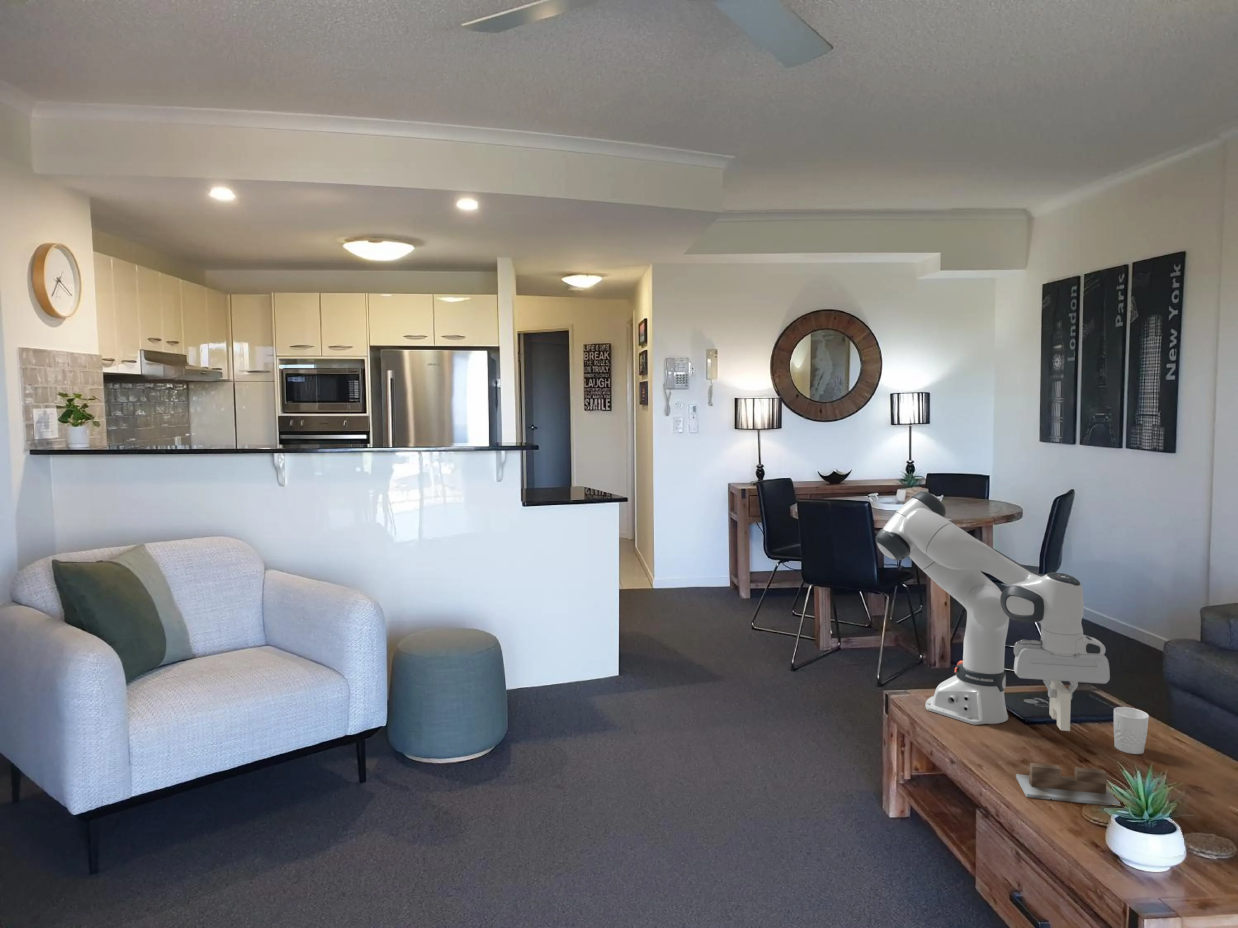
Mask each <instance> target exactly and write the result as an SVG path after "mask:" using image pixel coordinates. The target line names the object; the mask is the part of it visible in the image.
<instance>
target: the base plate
mask: <svg viewBox="0 0 1238 928" xmlns="http://www.w3.org/2000/svg"><path fill="white" fill-rule="evenodd" d="M1073 775H1074V776H1068V775H1062V768H1061V767H1060V765H1056V764H1048V763H1047V764H1046V763H1036V762H1030V763H1029V774H1018V773H1016V774H1015V778H1016V781H1017V782H1018V784H1019V785H1020V788H1021V790H1022V791H1023V794H1024V795H1025V797H1026V798H1030V799H1031V798H1032V799H1040V800H1041V799H1042V800H1050V799H1052V801H1061V802H1069V801H1070V803H1080V804H1089V805H1090V804H1091V805H1098V804H1099V806H1100V805H1101V806H1107V805H1112V804H1116V805H1119V804H1120V802H1121V801H1120V800H1119V801H1120V802H1119V801H1118V800H1117V799H1116V798H1115V797H1114V796H1113V794H1111V792H1110V791H1109V790H1108V789H1107V787H1106V784H1107V777H1108V773H1107V772H1106V771H1105V770H1104V769H1099V768H1090V767H1089V768H1088V767H1079V766H1074V774H1073Z"/></svg>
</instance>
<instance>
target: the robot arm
mask: <svg viewBox="0 0 1238 928" xmlns="http://www.w3.org/2000/svg"><path fill="white" fill-rule="evenodd" d="M945 516H946V506H945V505H944V504H943V502H942V500H941V499H940V498H938V497H937V496H936V495H935V494H932V493H930V492H928V491H923V490H921V491H919V492H917V493H915V494H914V495H912V496H911V497H910V499H909V500H908V501H906V502H905V503H904V504H903V505H902V506H900V507H899V508H898V509H897V510H896V511H895V512H894V514H893V515H892V516H891V517H890V519H889V520H888V521H887V522H886V524H885V525H884V526H883V527H882V528H881V529H880V530H879V531H878V532H877V535H876V536H875V543H876V545H877V547H878V549H879V551H880V552H881V553H882V554H883V555H884V556H885V557H888V558H889V559H892V560H894V561H902V560H905V559H906V558H908V557H909V558H910V560H912V561H913V562H914V564H915V565H916V566H917V567H918V568H920V570H922V572H923V573H925V574H926V575H927V577H928V578H930V579H931V580H932V581H933V582H934V583H935V584H936V585H937V586H938V587H940V589H942V590H944V591H945V592H946V593H947V594H948V595H950V596H951V597H952V598H953V599H955V600H956V601H957V602H958V603H959V604H960V605H962V606H963V608H964V609H965V610H966V625H965V632H964V638H963V646H962V647H963V653H962V660H959V661H958V662H957V664H956V665H955V668H954V674H955V675H953V676H951V677H949V678H947V679H945V680H944V681H942V682H940V683H939V684H938V685H937V687H936V688H935V691H934V693H933V694H934V695H931V696H930V697H928V699H927V700H926V701H925V709H926V710H927V711H929V712H933V713H936V714H939V715H941V716H945V717H948V718H950V719H951V718H952V719H955V720H957V721H960V722H964V723H966V724H971V725H975V726H977V725H985V724H989V725H995V724H1001V723H1004V722H1006V721H1008V720H1009V715H1008V712H1007V706H1006V701H1005V700H1006V699H1005V689H1006V684H1007V683H1006V682H1007V680H1006V678H1007V676H1006V669H1005V655H1006V653H1005V651H1006V648H1005V647H1006V640H1007V635H1008V631H1009V630H1008V629H1009V624H1010V619H1011V621H1015V622H1021V623H1039V625H1040V640H1038V639H1020V640H1018V641H1016V642H1015V643H1014V644H1013V654H1014V656H1015V657H1014V663H1013V671H1014V674H1015V675H1016V676H1017V677H1018V678H1019V679H1028V680H1042V682H1043V683H1044V685H1045V686H1046V688H1047V696H1048V697H1049V699H1050V698H1056V692H1057V691H1056V690H1055V689H1051V687H1050V684H1052V680H1057V681H1061V682H1069V686H1068V688H1067V690H1068V691H1069V692H1070V693H1071V700H1072V699H1073V693H1074V692H1075V690H1076V689H1077V688H1078V686H1079V683H1086V684H1087V683H1089V684H1107V683H1108V682H1109V681H1110V679H1111V675H1110V674H1111V673H1110V662H1109V660H1108V658H1107V656H1106V655H1105V654H1106V646H1105V645H1104V644H1103V643H1102V642H1101V641H1100V640H1099V639H1096V638H1095V637H1092V636H1089V635H1086V634H1084V628H1083V625H1082V620H1083V618H1084V610H1085V608H1084V592H1083V591H1084V590H1083V587H1082V583H1081V581H1080V580H1079V579H1077V578H1076V577H1074V576H1072V575H1070V574H1067V573H1064V572H1063V573H1062V572H1055V571H1054V572H1053V571H1052V572H1048V573H1046V574H1043V573H1038V572H1035V571H1033V570H1031V569H1029V568H1027V567H1025V566H1024V565H1022V564H1021V563H1019V562H1017V561H1016V560H1013V559H1012V558H1010V557H1009V556H1007V555H1005V554H1004V553H1002V552H1000V551H998V550H997V549H995V548H993V547H991V546H990V545H988V544H986V543H985V542H983V541H981V540H979V539H978V538H975V537H974V536H973V535H971V534H970V533H968V532H967V531H965V530H964V529H963V528H961V527H959V526H958V525H956V524H955V523H953V522H952V521H951V520H949V519H948V518H946V517H945ZM984 573H985V574H989V576H992V577H994V578H996V579H997V580H998V581H1000V582H1002V583H1003V584H1005V585H1006V586H1007V587H1005V588H1004V589H1003V590H1002V591H1001V589H1000V588H999V587H998V585H996V584H995V583H994V582H993V581H992V580H991V579H990V578H989V577H988V576H986V575H985V574H984Z"/></svg>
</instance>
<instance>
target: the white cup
mask: <svg viewBox="0 0 1238 928" xmlns="http://www.w3.org/2000/svg"><path fill="white" fill-rule="evenodd" d="M1149 718H1150V715H1149V714H1148V713H1147V712H1145V711H1143V710H1141V709H1138V708H1133V707H1128V706H1127V707H1126V706H1117V707H1114V708H1113V736H1114V738H1113V739H1114V740H1113V741H1114V742H1113V744H1114V745H1113V746H1114V748H1115V749H1116V750H1118V751H1119V752H1122V753H1127V754H1133V755H1142V754H1144V753H1145V746H1146V742H1147V736H1148V727H1149V726H1148V725H1149Z"/></svg>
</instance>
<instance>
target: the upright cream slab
mask: <svg viewBox="0 0 1238 928" xmlns="http://www.w3.org/2000/svg"><path fill="white" fill-rule="evenodd" d="M1049 685H1050V687H1051V689H1055V690H1056V691H1057V692H1056V698H1049V706H1048V707H1049V709H1048V711H1049V713H1048V714H1049V716H1050V717H1051V719H1052V720H1056V726H1057V727H1058V728H1059V730H1060V731H1065V732H1071V707H1072V706H1071V704H1072V703H1071V701H1072V699H1071V693H1070V692H1069V691H1068V690H1067V689H1068V688H1067V687H1066V686H1065V685H1064V683H1063V681H1057V680H1052V684H1049Z"/></svg>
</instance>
